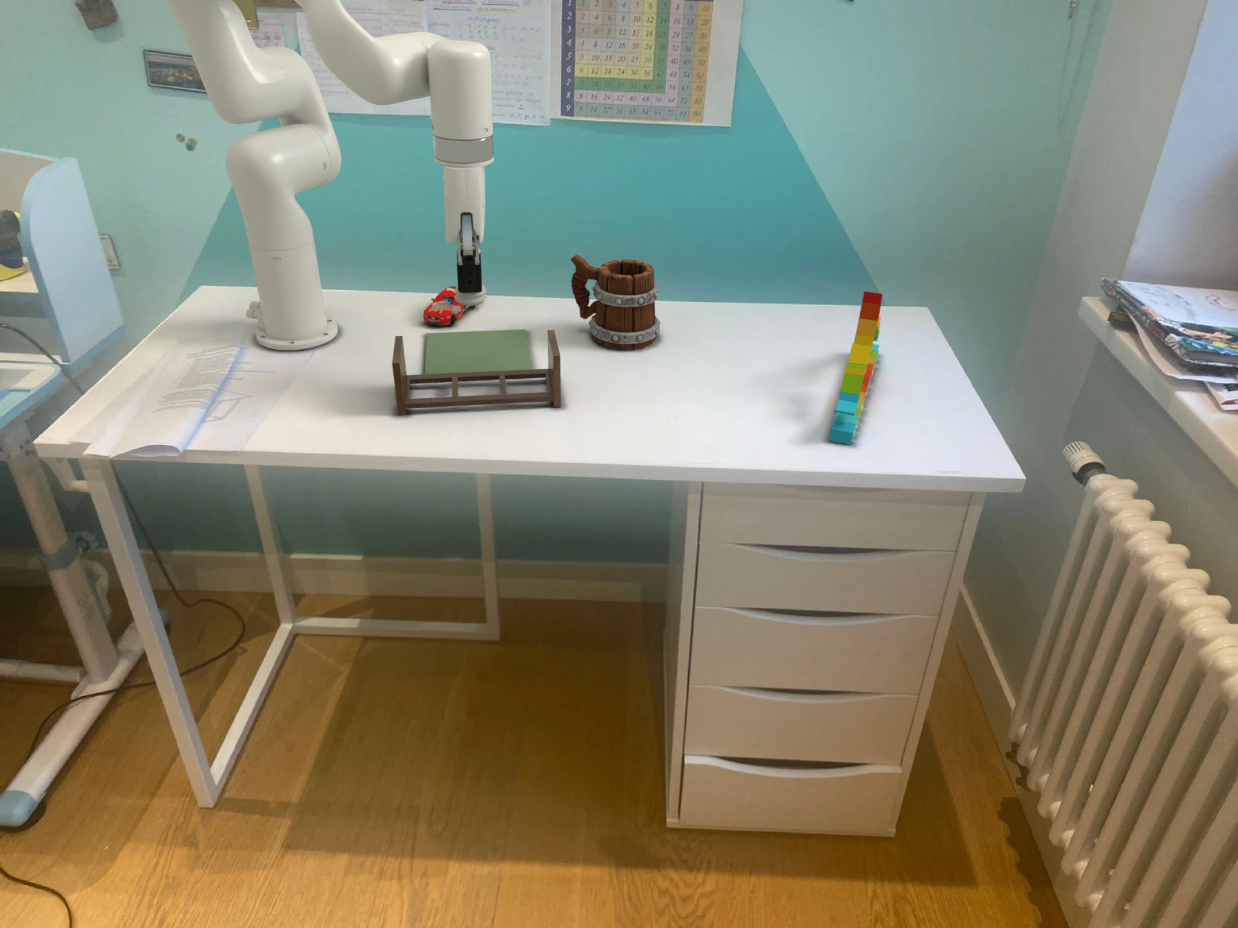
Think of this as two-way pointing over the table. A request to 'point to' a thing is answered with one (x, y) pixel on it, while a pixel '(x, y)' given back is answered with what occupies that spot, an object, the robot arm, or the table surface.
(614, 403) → the table surface
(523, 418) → the table surface
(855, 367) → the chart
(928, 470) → the table surface
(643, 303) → the mug
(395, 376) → the rack
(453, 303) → the race car
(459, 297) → the rook chess piece
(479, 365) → the mat
